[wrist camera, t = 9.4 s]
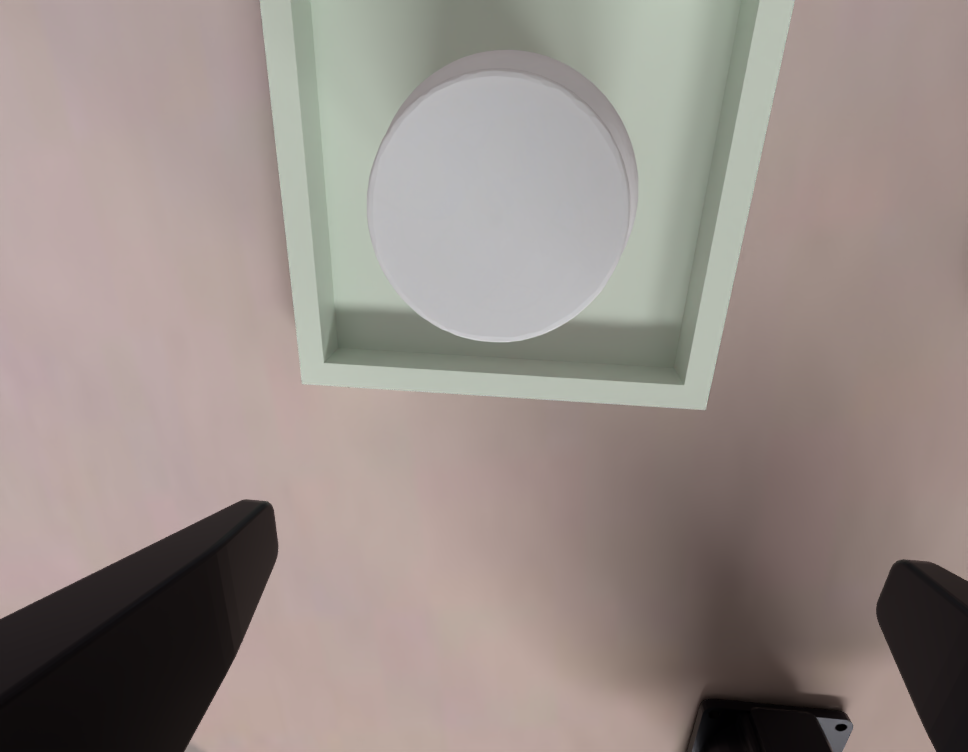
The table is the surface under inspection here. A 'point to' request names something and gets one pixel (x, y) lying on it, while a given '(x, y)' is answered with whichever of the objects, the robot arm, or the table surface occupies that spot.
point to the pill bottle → (502, 196)
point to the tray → (661, 186)
